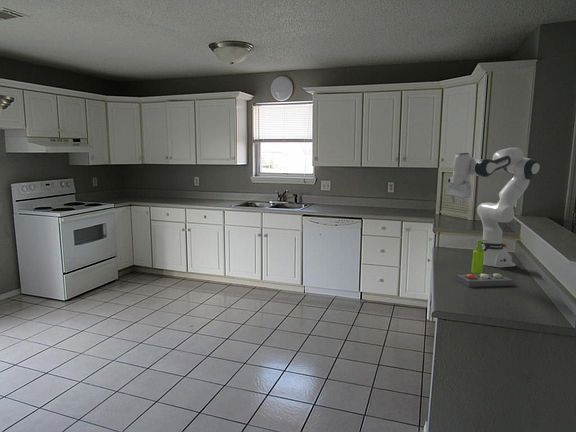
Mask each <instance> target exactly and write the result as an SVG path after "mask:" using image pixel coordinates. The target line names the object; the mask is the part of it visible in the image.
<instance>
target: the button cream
mask: <svg viewBox="0 0 576 432" xmlns="http://www.w3.org/2000/svg"><path fill="white" fill-rule="evenodd" d="M487 274H488V273H482V274H480V278H482V279H488V276H489V275H487Z"/></svg>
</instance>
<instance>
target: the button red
mask: <svg viewBox="0 0 576 432" xmlns="http://www.w3.org/2000/svg"><path fill="white" fill-rule="evenodd" d="M473 274H474V273H467V274H466V275H467V278H468V279H475V275H473Z"/></svg>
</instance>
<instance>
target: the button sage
mask: <svg viewBox="0 0 576 432" xmlns="http://www.w3.org/2000/svg"><path fill="white" fill-rule="evenodd" d="M492 274H493V277H494V278H496V279H497V278H501V277H502V276H503V275H502V274H501V273H497V272H496V273H492Z"/></svg>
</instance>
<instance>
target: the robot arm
mask: <svg viewBox="0 0 576 432" xmlns="http://www.w3.org/2000/svg"><path fill="white" fill-rule="evenodd" d="M452 168H453V170H452V171H453V172H452V176H451V177H449V178H447V180H446V183H447V184H446V195H448V196H449V197H450V203H451V204H456V200H455V197H459V198H461V201H460V203H459V205H460V206H464V205H465V203H466V200H467V198H468V199H470V198H471V197H472V185H471V183H470V181H469V176H475V177H484V178H488V177H490V176H491V175H492V174H493V173H494V172H496V171H499V170H501V169H503V170H504V171H505V172H507V173H508V174H512V175H513V177H512V178H511V179H510V180H508V181H507V183H506V184H505V185H504V186H503V188H502V189H501V190H500V191H499V192H498V197H499V200H498V201H497V203H495V202H481V203H480V204H479V205H478V206H477V208H476V213H477V215H478V216H479V218H480V220H481V224H482V240H486V241H487V242H485V241H481V245H482V251H484V260H483V266H488V267H495V268H506V267H507V268H508V267H516V264H515V262H512V261H513V259H512V255H511V254H510V253H508V251H506V250H505V249H504V248H507V247H508V244H506V243H502V241H503V230H502V228H501V227H500V224H499V223H510V222H512V221H513V220H514V217H515V210H514V207H515V204H516V202H518V200H519V199H520V197H521V196H522V195H523V194H524V192H525V191H526V190H527V188H528V187H529V184H530V182H531V181H530V180H532V179H533V178H534V177H535V176H536V175H537V174H539V172H540V169H541V164H540V162H539V161H538V160H536V159H534V158H530V157H529V158H528V157H524V151H523V149H521V148H519V147H516V146H515V147H508V148H503V149H499V150H497V151H495V152H494V153H493V155H492V159H489V158H482V159H481V158H480V159H477V158H474V157H473V156H471V154H470V153H469V152H459V153H457V154H455V155H454V158H453V164H452Z"/></svg>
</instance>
